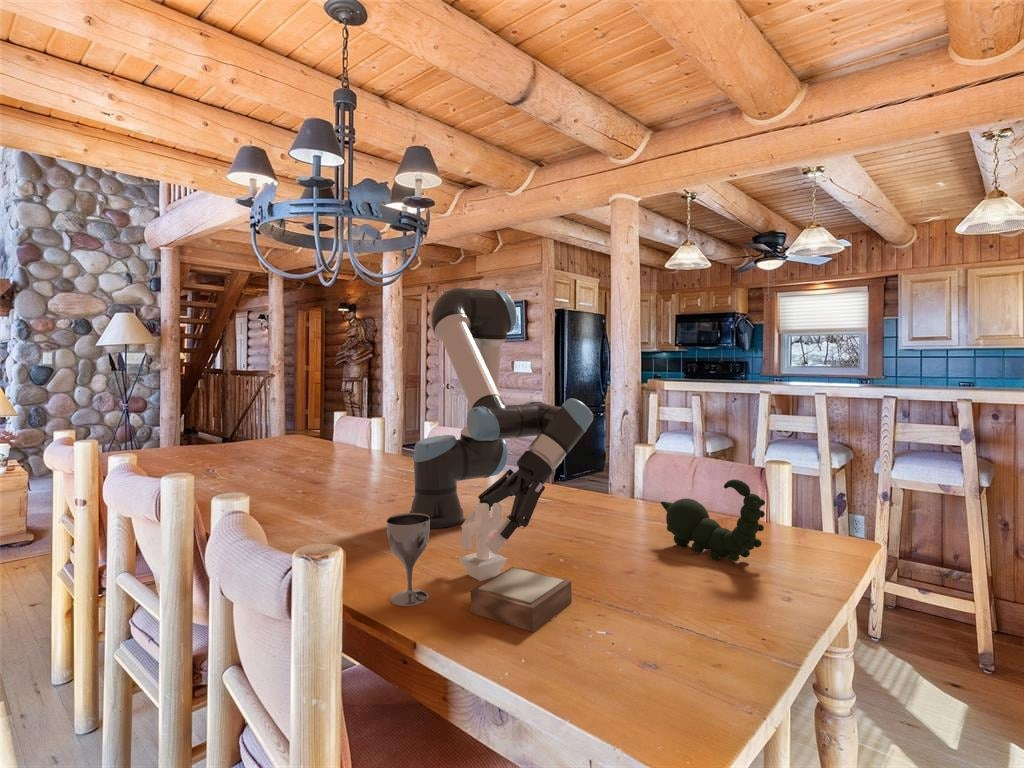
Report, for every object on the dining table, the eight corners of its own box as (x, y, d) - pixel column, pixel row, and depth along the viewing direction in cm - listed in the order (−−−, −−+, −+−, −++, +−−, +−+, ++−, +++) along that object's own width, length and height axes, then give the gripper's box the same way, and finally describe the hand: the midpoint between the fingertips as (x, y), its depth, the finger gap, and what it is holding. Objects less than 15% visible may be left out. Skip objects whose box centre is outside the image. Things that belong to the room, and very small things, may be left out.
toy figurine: (767, 571, 117) (671, 531, 138) (775, 483, 115) (676, 456, 136) (741, 581, 112) (645, 538, 132) (749, 490, 110) (650, 461, 130)
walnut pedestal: (471, 612, 96) (470, 588, 96) (512, 586, 106) (512, 565, 106) (533, 632, 88) (533, 606, 88) (571, 602, 99) (571, 579, 99)
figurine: (454, 576, 112) (453, 504, 112) (490, 564, 118) (489, 496, 118) (474, 587, 107) (473, 511, 106) (511, 574, 113) (510, 502, 112)
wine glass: (412, 585, 108) (410, 510, 107) (440, 596, 103) (438, 517, 102) (379, 599, 102) (377, 520, 101) (407, 611, 97) (405, 527, 96)
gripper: (582, 481, 107) (515, 570, 101) (525, 462, 130) (467, 534, 124) (559, 457, 105) (489, 547, 99) (504, 441, 127) (445, 514, 121)
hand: (477, 540), depth 111 cm, fingers open, 13 cm apart
